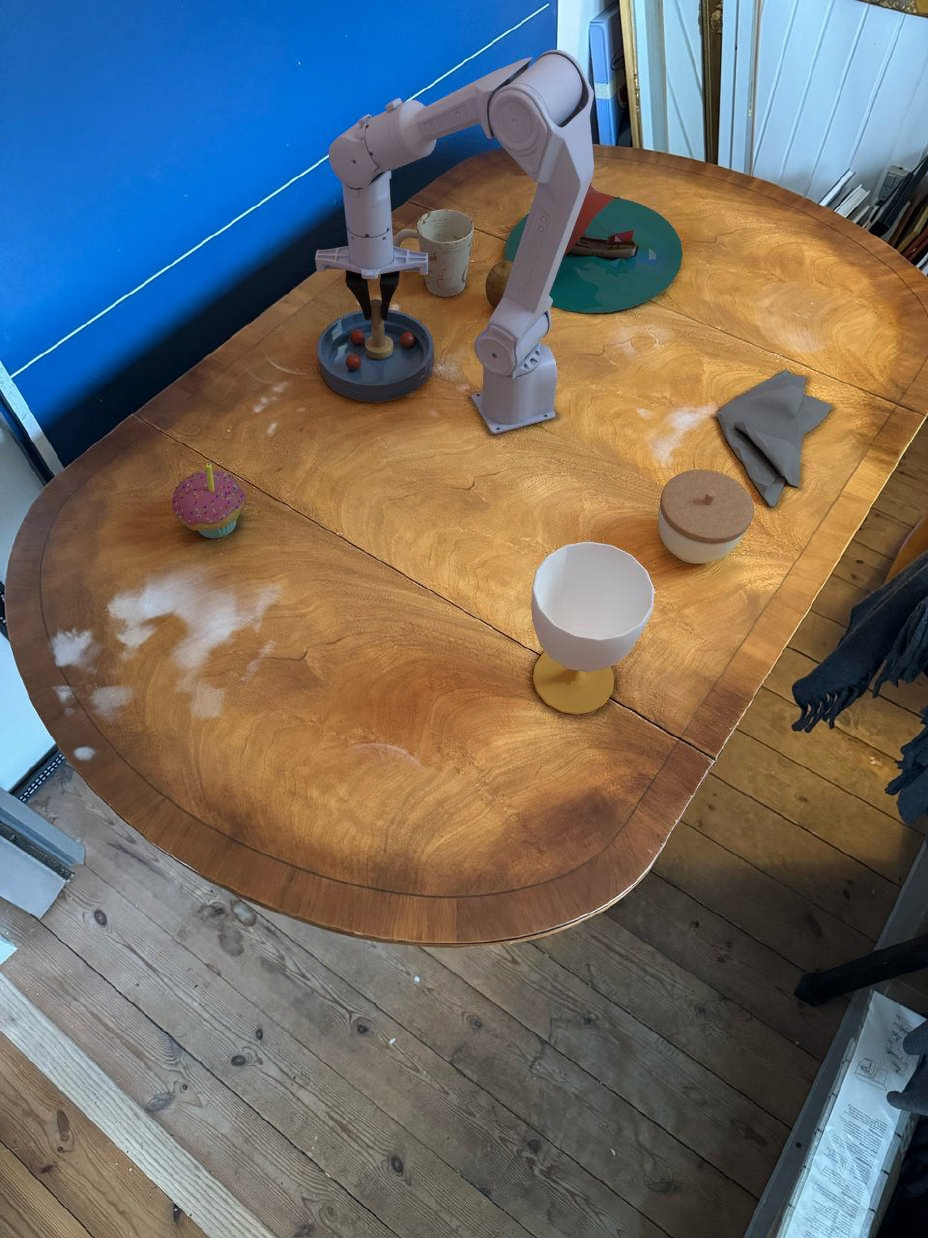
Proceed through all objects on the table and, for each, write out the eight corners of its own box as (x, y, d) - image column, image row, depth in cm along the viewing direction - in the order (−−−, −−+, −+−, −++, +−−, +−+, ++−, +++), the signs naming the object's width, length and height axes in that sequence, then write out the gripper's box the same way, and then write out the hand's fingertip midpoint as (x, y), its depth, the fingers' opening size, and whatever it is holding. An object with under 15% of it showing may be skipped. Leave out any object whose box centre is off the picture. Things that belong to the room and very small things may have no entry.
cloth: (749, 358, 129) (754, 346, 127) (843, 391, 125) (849, 378, 124) (684, 474, 116) (687, 461, 114) (785, 514, 113) (791, 502, 111)
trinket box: (633, 527, 111) (646, 475, 103) (705, 500, 114) (724, 448, 106) (678, 590, 106) (696, 541, 98) (754, 562, 108) (777, 511, 101)
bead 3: (401, 349, 128) (408, 351, 130) (412, 341, 127) (420, 343, 129) (394, 336, 128) (402, 337, 130) (406, 327, 127) (413, 329, 129)
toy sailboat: (514, 201, 151) (513, 137, 141) (682, 207, 148) (693, 142, 138) (494, 315, 137) (492, 254, 128) (679, 325, 134) (692, 262, 124)
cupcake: (262, 508, 112) (244, 439, 102) (231, 559, 108) (208, 492, 98) (201, 491, 114) (177, 421, 104) (168, 540, 109) (139, 472, 99)
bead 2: (358, 362, 127) (359, 349, 125) (362, 372, 126) (363, 359, 124) (343, 364, 126) (344, 351, 125) (347, 374, 125) (348, 361, 124)
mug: (466, 305, 135) (467, 245, 127) (386, 294, 137) (382, 234, 128) (477, 272, 140) (478, 212, 131) (399, 262, 141) (396, 202, 133)
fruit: (533, 313, 134) (537, 266, 128) (500, 328, 132) (502, 281, 126) (509, 292, 137) (512, 245, 130) (476, 306, 135) (477, 259, 128)
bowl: (411, 318, 133) (410, 298, 130) (450, 387, 125) (450, 368, 122) (306, 343, 130) (303, 323, 127) (339, 416, 122) (336, 396, 119)
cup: (549, 741, 95) (567, 658, 80) (503, 654, 100) (511, 562, 86) (645, 703, 97) (678, 615, 83) (594, 621, 103) (617, 526, 89)
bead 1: (369, 333, 129) (356, 329, 130) (362, 329, 127) (349, 325, 128) (365, 348, 129) (352, 344, 130) (358, 344, 127) (345, 340, 128)
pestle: (395, 341, 129) (392, 294, 123) (391, 360, 127) (388, 313, 120) (367, 340, 129) (363, 292, 123) (363, 358, 127) (359, 311, 120)
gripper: (307, 241, 110) (320, 332, 121) (425, 244, 110) (427, 335, 121) (314, 208, 114) (326, 299, 125) (428, 211, 114) (430, 302, 125)
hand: (376, 315), depth 123 cm, fingers closed on pestle, 2 cm apart
